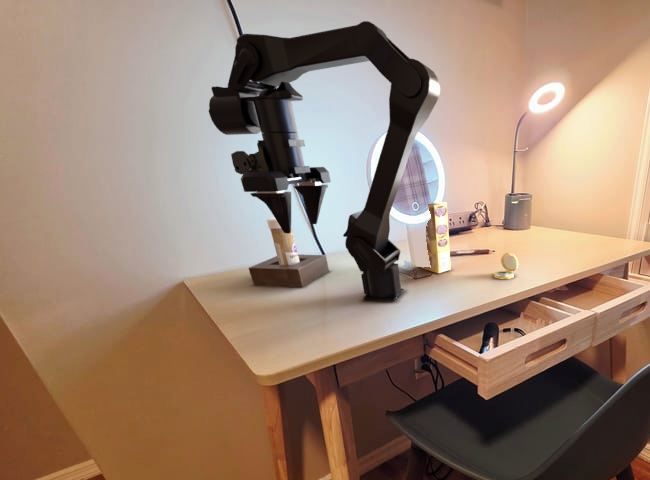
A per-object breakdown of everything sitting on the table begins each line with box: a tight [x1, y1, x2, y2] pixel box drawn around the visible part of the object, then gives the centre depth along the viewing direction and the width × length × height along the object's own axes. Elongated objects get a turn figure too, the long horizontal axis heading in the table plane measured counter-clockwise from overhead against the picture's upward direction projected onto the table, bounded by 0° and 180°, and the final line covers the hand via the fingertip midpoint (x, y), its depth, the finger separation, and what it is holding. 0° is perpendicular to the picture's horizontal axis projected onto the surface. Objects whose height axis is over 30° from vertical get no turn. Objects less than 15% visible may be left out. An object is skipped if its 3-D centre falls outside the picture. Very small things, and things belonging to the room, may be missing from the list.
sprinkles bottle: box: [266, 216, 300, 265], centre depth 84 cm, size 5×5×13 cm
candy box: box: [422, 201, 451, 274], centre depth 88 cm, size 9×4×15 cm, turn 44°
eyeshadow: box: [493, 252, 519, 280], centre depth 84 cm, size 4×5×5 cm
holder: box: [248, 254, 330, 288], centre depth 86 cm, size 12×12×4 cm
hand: (301, 228), depth 71 cm, fingers open, 9 cm apart
